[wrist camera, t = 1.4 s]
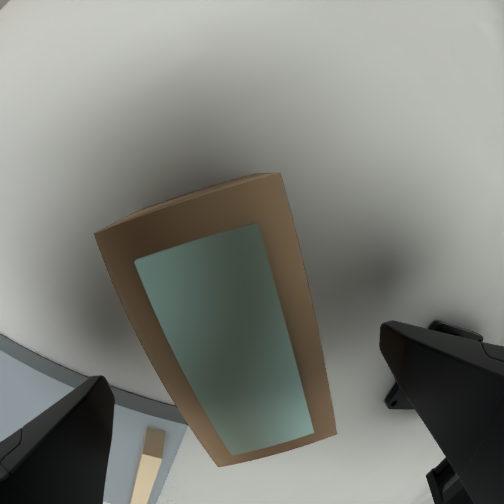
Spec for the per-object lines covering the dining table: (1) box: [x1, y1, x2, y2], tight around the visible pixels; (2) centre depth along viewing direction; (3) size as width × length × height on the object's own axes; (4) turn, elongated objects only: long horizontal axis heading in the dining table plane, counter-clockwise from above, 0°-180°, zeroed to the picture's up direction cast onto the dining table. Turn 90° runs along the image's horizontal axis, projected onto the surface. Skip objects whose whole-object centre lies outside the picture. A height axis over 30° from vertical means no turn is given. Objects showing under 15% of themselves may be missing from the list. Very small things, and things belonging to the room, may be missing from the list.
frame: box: [94, 173, 337, 467], centre depth 11 cm, size 5×10×5 cm, turn 16°
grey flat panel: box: [0, 334, 188, 504], centre depth 12 cm, size 18×14×3 cm
